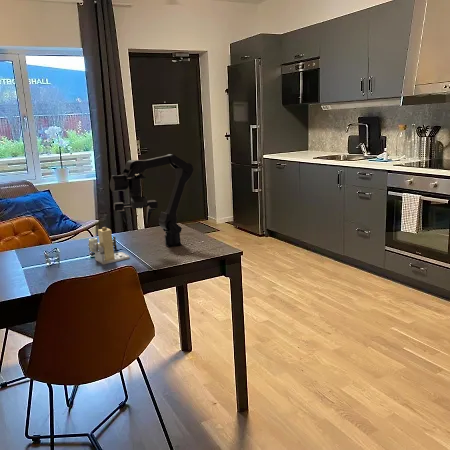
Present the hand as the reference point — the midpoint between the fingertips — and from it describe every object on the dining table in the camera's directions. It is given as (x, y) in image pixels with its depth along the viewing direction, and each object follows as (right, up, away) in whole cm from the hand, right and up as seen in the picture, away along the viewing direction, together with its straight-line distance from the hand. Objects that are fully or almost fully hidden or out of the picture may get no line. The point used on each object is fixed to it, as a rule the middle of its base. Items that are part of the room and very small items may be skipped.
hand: (137, 224), depth 210 cm
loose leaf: (-11, -14, -6) cm, 19 cm away
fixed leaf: (-10, -15, -5) cm, 18 cm away
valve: (-17, -13, +8) cm, 23 cm away
